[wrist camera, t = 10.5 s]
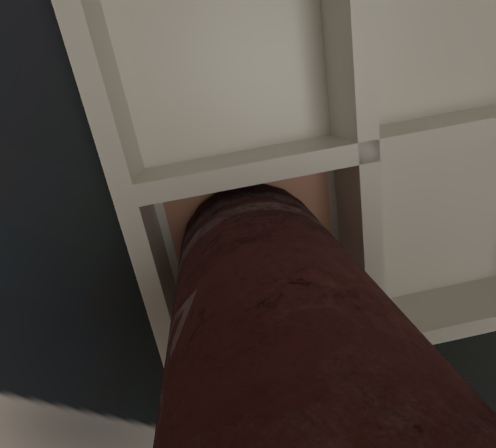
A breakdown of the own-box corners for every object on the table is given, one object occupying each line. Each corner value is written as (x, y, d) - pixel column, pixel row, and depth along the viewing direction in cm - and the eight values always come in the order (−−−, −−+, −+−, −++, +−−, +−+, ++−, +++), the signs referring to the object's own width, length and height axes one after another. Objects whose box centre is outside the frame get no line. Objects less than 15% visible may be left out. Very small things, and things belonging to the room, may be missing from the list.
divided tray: (510, 278, 20) (570, 314, 17) (179, 348, 19) (174, 401, 16) (555, -152, 14) (666, -228, 10) (58, -79, 13) (8, -139, 9)
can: (267, 326, 18) (430, 905, 5) (156, 263, 17) (-19, 911, 3) (345, 230, 17) (811, 681, 4) (234, 152, 15) (422, 505, 2)
